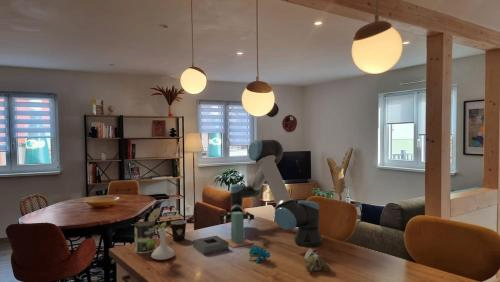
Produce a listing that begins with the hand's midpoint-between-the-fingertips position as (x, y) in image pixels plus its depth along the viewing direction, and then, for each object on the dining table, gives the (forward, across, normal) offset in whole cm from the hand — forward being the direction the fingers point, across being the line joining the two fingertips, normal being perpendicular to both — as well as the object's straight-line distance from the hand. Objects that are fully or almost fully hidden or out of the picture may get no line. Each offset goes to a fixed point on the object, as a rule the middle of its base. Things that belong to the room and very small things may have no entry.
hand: (236, 221), depth 184 cm
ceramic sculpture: (+38, -35, -12) cm, 53 cm away
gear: (+27, -10, -12) cm, 31 cm away
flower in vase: (+21, +37, -12) cm, 44 cm away
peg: (-1, 0, -12) cm, 12 cm away
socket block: (+9, +14, -12) cm, 21 cm away
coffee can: (+9, +48, -12) cm, 51 cm away
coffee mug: (-8, +35, -12) cm, 38 cm away
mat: (0, 0, -12) cm, 12 cm away
